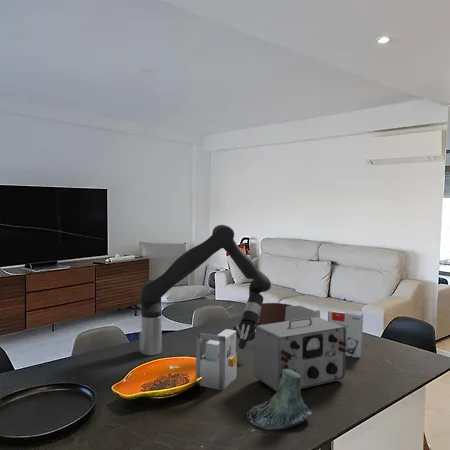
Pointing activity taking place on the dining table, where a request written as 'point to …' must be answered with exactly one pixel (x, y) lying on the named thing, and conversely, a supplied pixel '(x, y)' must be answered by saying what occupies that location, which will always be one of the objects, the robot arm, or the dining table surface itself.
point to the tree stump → (281, 406)
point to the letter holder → (272, 313)
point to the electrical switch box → (300, 312)
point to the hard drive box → (349, 328)
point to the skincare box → (214, 346)
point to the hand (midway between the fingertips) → (241, 348)
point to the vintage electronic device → (300, 351)
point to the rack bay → (215, 364)
